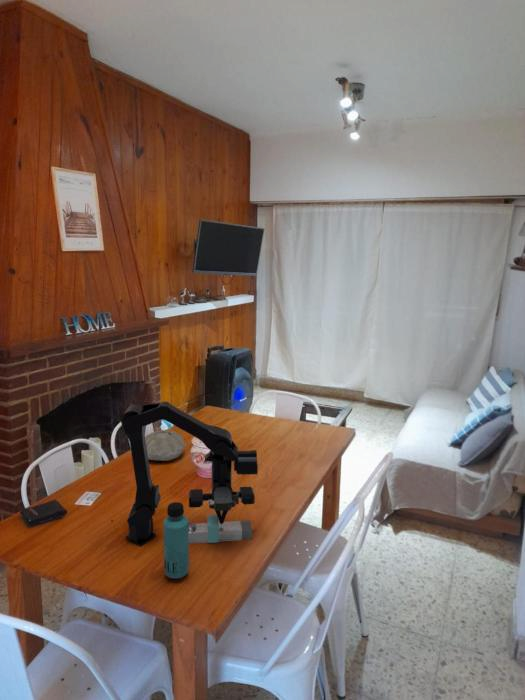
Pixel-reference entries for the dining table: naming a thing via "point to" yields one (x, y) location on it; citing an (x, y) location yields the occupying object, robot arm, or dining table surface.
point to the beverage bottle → (176, 542)
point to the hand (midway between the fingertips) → (221, 523)
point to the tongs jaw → (225, 524)
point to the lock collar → (213, 529)
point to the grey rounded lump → (164, 445)
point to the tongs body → (224, 533)
